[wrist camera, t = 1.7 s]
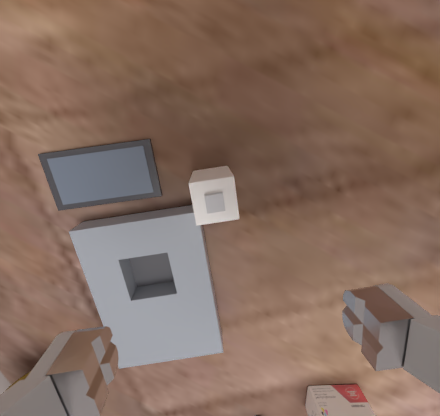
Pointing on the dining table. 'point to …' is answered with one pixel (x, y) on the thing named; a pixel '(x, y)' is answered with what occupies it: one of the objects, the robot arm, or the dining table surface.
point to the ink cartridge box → (337, 401)
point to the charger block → (213, 195)
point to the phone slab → (102, 174)
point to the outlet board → (151, 284)
